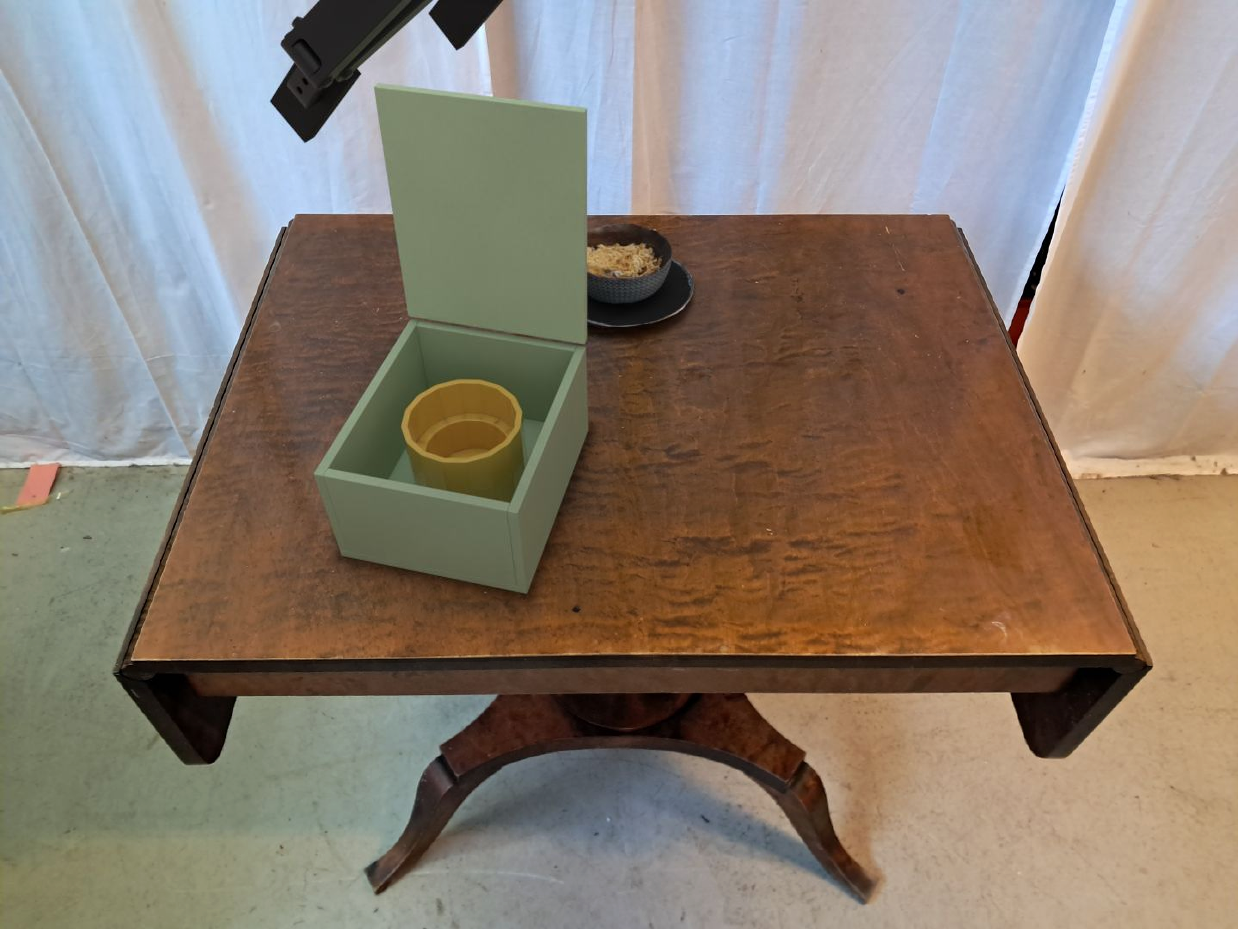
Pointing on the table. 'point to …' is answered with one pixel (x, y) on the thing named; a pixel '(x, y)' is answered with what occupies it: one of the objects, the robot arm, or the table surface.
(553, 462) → the chest
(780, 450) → the table surface
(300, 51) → the robot arm
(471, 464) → the bowl
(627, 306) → the soup bowl
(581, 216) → the chest lid
